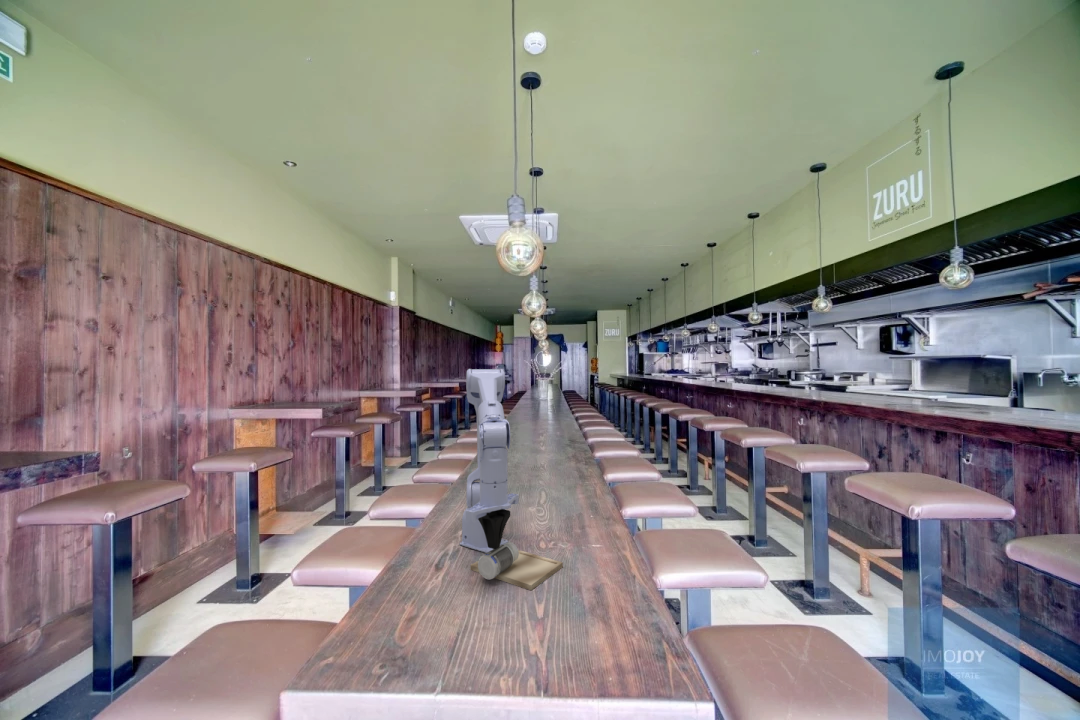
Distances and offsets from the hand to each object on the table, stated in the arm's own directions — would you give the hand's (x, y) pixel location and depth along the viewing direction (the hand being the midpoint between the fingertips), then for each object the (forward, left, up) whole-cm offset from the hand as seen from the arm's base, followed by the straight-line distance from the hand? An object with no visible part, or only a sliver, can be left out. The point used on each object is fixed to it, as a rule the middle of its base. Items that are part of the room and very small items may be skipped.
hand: (493, 547), depth 84 cm
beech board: (+1, +6, -6) cm, 9 cm away
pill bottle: (0, -3, -3) cm, 4 cm away
